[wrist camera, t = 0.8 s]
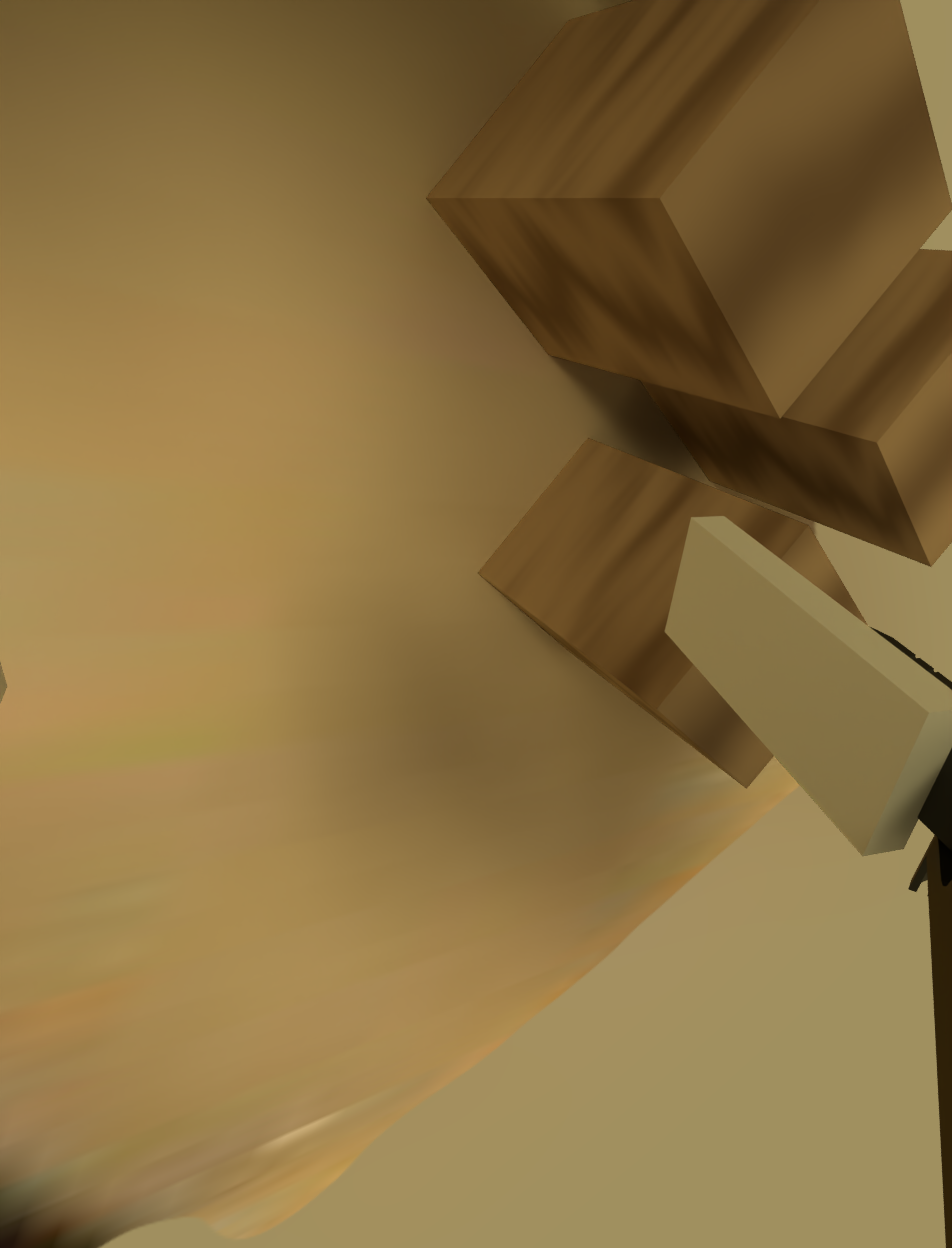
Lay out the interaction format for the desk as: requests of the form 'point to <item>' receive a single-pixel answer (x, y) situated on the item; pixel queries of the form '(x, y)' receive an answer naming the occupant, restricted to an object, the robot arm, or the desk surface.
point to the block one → (852, 426)
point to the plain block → (641, 586)
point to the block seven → (705, 189)
